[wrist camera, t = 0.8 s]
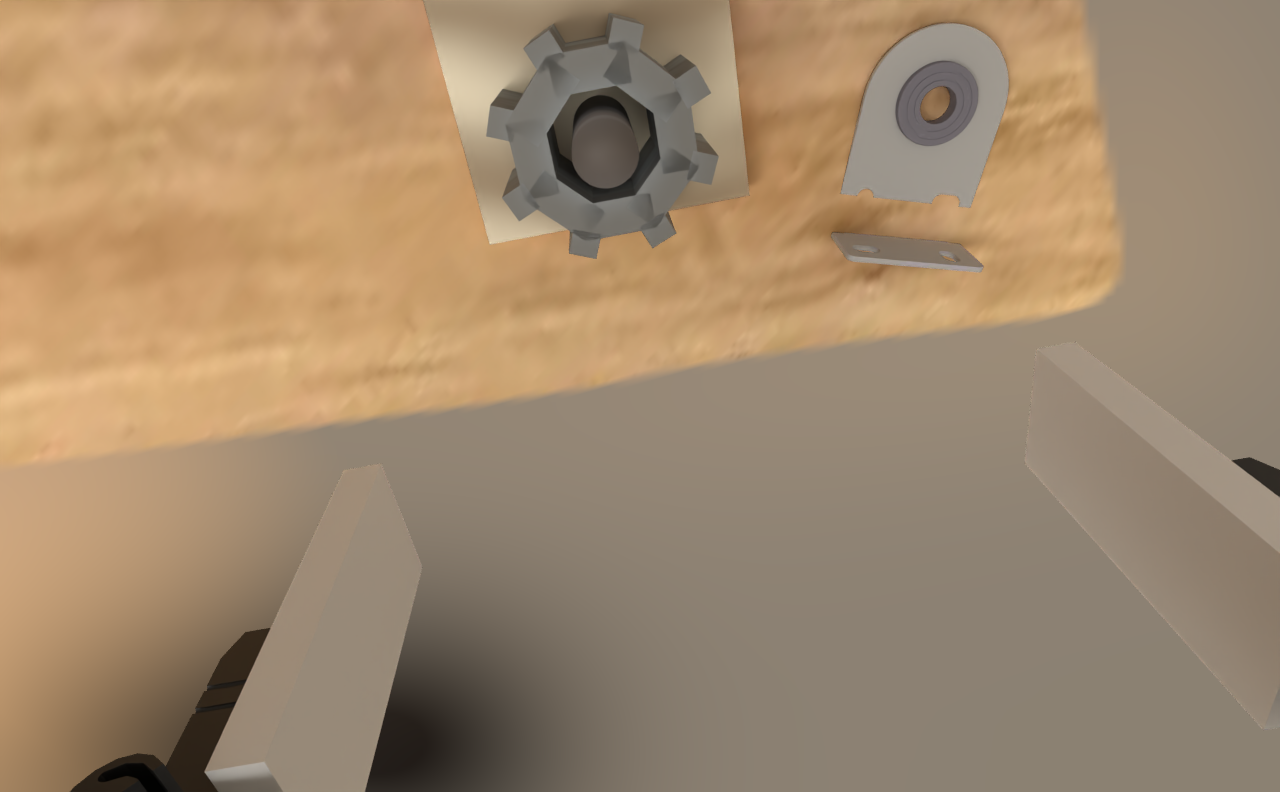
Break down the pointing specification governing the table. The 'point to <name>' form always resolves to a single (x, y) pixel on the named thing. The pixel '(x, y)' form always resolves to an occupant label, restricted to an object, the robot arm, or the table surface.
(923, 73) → the bracket
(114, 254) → the table surface
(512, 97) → the gear board
